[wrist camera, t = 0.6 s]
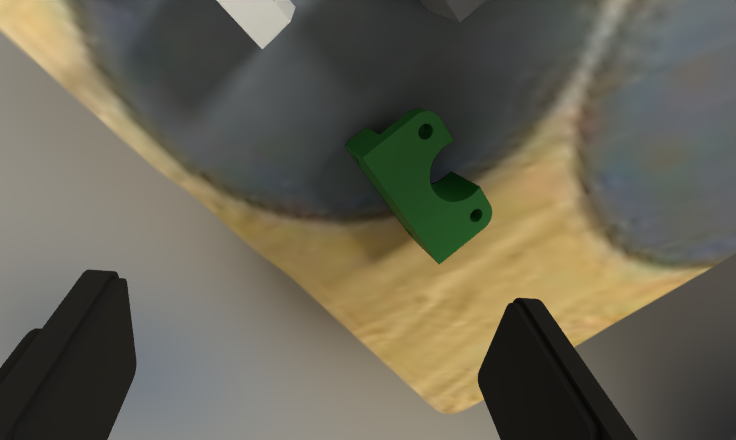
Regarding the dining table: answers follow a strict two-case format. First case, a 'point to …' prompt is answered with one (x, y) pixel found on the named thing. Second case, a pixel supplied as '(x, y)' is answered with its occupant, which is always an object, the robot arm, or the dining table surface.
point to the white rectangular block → (260, 17)
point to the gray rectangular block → (452, 8)
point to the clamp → (421, 183)
